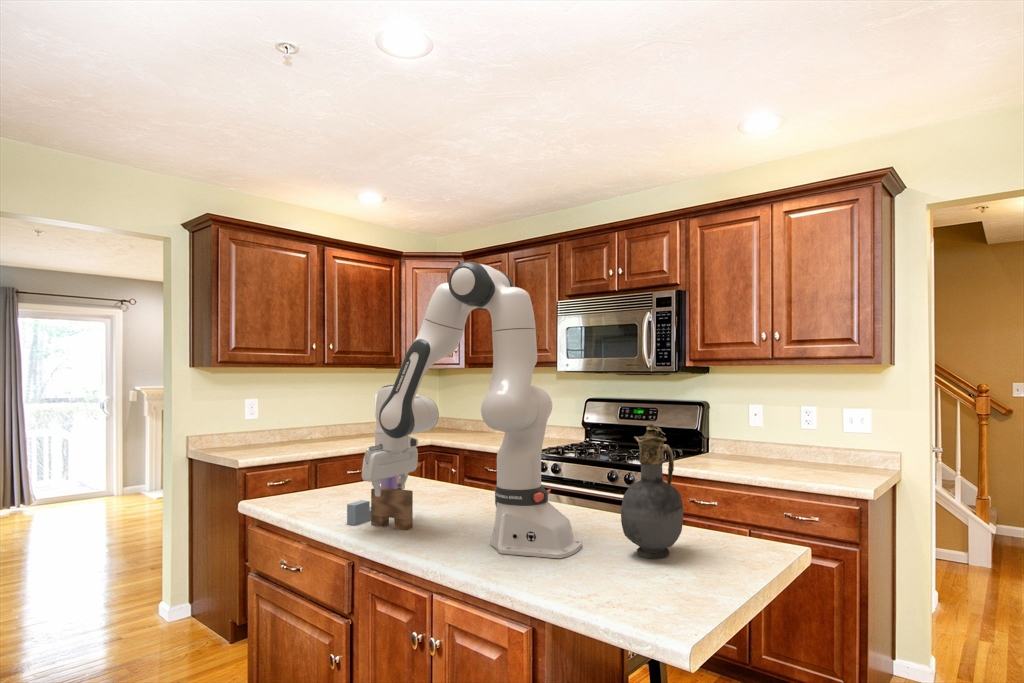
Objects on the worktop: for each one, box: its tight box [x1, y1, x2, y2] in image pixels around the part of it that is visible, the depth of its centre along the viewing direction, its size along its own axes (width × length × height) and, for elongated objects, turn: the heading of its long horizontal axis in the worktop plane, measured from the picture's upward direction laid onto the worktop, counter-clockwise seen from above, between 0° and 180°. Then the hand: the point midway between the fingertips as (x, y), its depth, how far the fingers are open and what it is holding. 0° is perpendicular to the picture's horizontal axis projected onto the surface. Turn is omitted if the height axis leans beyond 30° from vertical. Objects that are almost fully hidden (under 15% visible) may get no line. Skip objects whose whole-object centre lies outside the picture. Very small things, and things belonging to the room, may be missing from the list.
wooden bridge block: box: [370, 487, 414, 531], centre depth 165 cm, size 12×3×10 cm, turn 63°
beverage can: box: [380, 475, 400, 489], centre depth 194 cm, size 6×6×15 cm
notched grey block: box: [346, 499, 371, 526], centre depth 174 cm, size 3×16×6 cm, turn 153°
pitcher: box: [620, 423, 684, 560], centre depth 141 cm, size 11×19×30 cm, turn 141°
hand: (390, 492), depth 166 cm, fingers open, 8 cm apart
